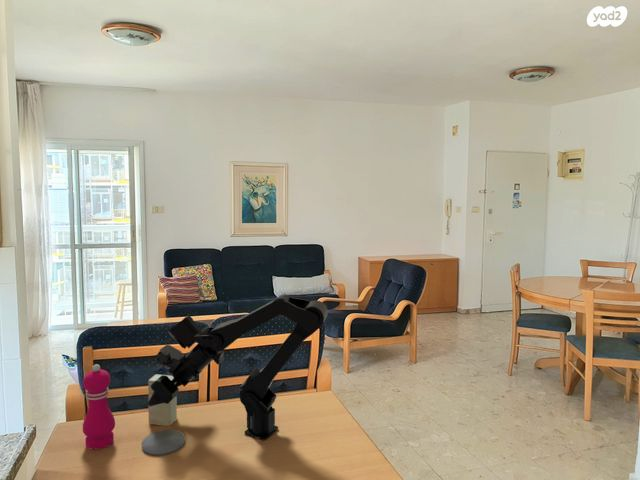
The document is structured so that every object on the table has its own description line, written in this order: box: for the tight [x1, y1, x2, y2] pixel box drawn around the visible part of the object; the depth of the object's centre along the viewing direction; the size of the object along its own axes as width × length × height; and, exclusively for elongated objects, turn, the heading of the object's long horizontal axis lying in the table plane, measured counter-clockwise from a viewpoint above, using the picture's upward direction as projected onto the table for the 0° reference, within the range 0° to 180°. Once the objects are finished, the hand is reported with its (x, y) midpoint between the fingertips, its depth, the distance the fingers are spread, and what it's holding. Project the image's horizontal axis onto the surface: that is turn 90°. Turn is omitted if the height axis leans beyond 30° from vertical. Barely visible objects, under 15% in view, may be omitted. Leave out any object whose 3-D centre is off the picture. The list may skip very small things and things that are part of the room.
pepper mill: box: [82, 363, 116, 450], centre depth 116 cm, size 7×7×20 cm
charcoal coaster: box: [141, 429, 186, 456], centre depth 117 cm, size 10×10×1 cm
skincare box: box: [147, 373, 178, 427], centre depth 127 cm, size 6×4×12 cm
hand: (158, 396), depth 127 cm, fingers open, 9 cm apart
